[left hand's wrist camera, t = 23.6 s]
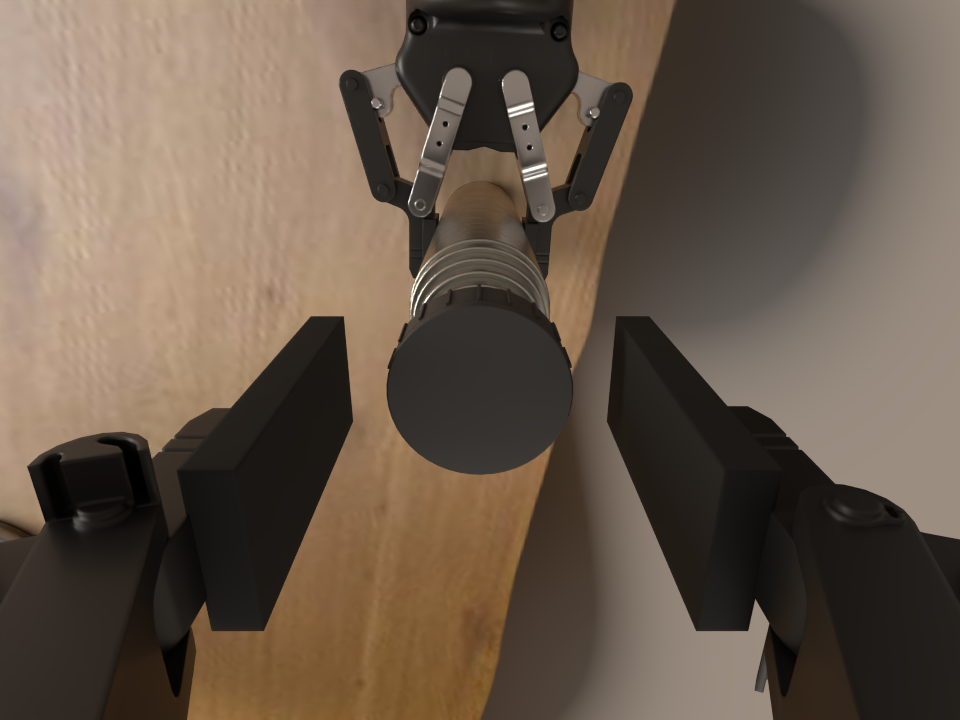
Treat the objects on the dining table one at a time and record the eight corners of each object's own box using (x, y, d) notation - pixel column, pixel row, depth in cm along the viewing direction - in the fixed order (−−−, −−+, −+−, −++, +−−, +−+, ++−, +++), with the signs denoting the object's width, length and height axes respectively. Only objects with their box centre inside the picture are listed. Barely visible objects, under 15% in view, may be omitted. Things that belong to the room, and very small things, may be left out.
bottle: (464, 267, 37) (441, 493, 15) (430, 203, 36) (344, 342, 13) (528, 234, 37) (608, 418, 14) (496, 167, 35) (525, 250, 12)
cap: (379, 423, 15) (368, 456, 13) (412, 264, 13) (404, 281, 12) (538, 457, 15) (544, 493, 14) (587, 306, 14) (600, 328, 12)
